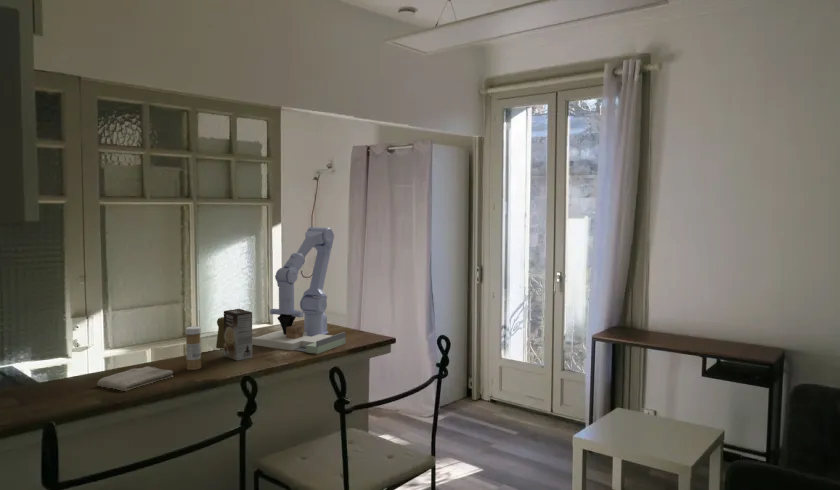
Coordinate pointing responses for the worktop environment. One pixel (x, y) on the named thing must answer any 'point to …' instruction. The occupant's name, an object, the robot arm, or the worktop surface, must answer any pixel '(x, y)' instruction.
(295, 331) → the walnut block
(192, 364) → the sprinkles bottle
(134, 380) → the washcloth
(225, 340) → the coffee box
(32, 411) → the worktop surface
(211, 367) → the worktop surface
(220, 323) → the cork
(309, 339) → the trap deck
